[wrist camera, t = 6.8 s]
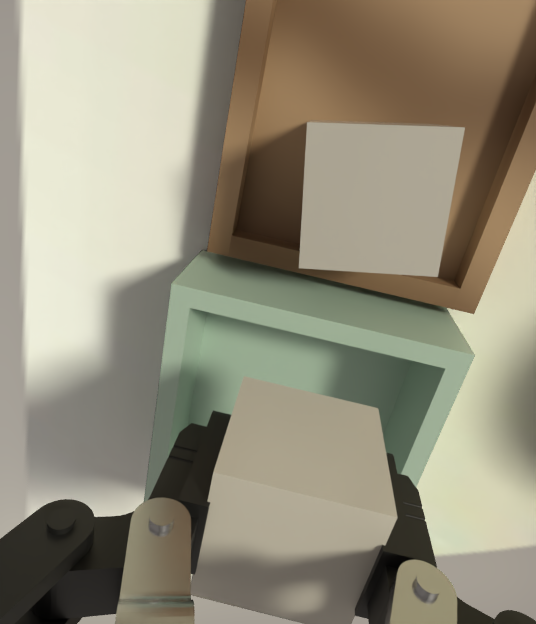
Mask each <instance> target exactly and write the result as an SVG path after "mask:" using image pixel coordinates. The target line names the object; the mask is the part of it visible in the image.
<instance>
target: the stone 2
mask: <svg viewBox="0 0 536 624" xmlns="http://www.w3.org/2000/svg"><path fill="white" fill-rule="evenodd" d="M464 131H465V127H456V126H447V125H439V124H422V123H392V122H361V121H330V120H311V121H309V122H307V132H306V150H305V167H304V185H303V202H302V220H301V238H300V255H299V268H303V269H319V270H335V271H351V272H367V273H382V274H398V275H414V276H430V277H438V273H439V268H440V262H441V257H442V251H443V246H444V240H445V235H446V229H447V224H448V218H449V213H450V207H451V202H452V196H453V191H454V185H455V180H456V174H457V169H458V163H459V158H460V152H461V147H462V141H463V136H464Z"/></svg>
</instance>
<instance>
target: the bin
mask: <svg viewBox="0 0 536 624" xmlns="http://www.w3.org/2000/svg"><path fill="white" fill-rule="evenodd" d="M474 356H475V355H474V353H473V351H472V350H471V348H470V346H469V345H468V343H467V341H466V340H465V338H464V336H463V335H462V333H461V331H460V330H459V328H458V326H457V325H456V323H455V321H454V320H453V318H452V317H451V315H450V313H449V312H448V310H447V308H446V307H442V306H438V305H433V304H429V303H425V302H421V301H416V300H412V299H408V298H404V297H399V296H395V295H391V294H387V293H382V292H378V291H374V290H369V289H365V288H361V287H357V286H352V285H348V284H344V283H340V282H335V281H331V280H327V279H322V278H318V277H314V276H310V275H305V274H301V273H297V272H293V271H288V270H284V269H280V268H276V267H271V266H267V265H263V264H258V263H254V262H250V261H246V260H241V259H237V258H233V257H229V256H224V255H220V254H216V253H212V252H207V251H203V250H202V251H201V252H200V253H199V254H198V255H197V256H196V257H195V258H194V259H193V260H192V262H191V263H190V264H189V265H188V266H187V267H186V268H185V269H184V270H183V271H182V273H181V274H180V275H179V276H178V277H177V278H176V279H175V280H174V281H173V282H172V284H171V291H170V299H169V307H168V315H167V323H166V331H165V339H164V347H163V355H162V363H161V370H160V378H159V386H158V394H157V402H156V410H155V418H154V426H153V434H152V442H151V449H150V457H149V465H148V473H147V481H146V489H145V497H144V502H145V501H147V500H148V499H149V497H150V495H151V493H152V491H153V489H154V486H155V484H156V482H157V480H158V478H159V476H160V473H161V471H162V469H163V467H164V465H165V463H166V460H167V458H168V457H169V454H170V452H171V450H172V448H173V446H174V443H175V441H176V439H177V437H178V435H179V432H181V431H182V430H183V429H184V428H186V427H187V426H188V425H190V424H191V423H194V424H198V425H202V426H206V427H207V424H208V422H209V419H210V417H211V414H212V412H213V410H214V411H218V412H222V413H226V414H231V415H232V412H233V409H234V405H235V402H236V399H237V396H238V393H239V390H240V386H241V383H242V380H243V377H244V376H246V377H250V378H254V379H258V380H262V381H266V382H271V383H275V384H279V385H283V386H287V387H292V388H296V389H300V390H304V391H308V392H312V393H317V394H321V395H325V396H329V397H333V398H338V399H342V400H346V401H350V402H354V403H358V404H363V405H367V406H371V407H375V408H378V410H379V415H380V421H381V427H382V432H383V438H384V444H385V449H386V453H390V454H393V456H394V459H395V464H396V469H397V473H398V474H402V475H406V476H408V477H409V478H410V480H411V481H412V482H413V484H414V485H415V487H416V486H417V484H418V482H419V479H420V477H421V475H422V473H423V471H424V468H425V466H426V464H427V462H428V459H429V457H430V455H431V453H432V450H433V448H434V446H435V444H436V441H437V439H438V437H439V435H440V432H441V430H442V428H443V426H444V424H445V421H446V419H447V417H448V415H449V412H450V410H451V408H452V406H453V403H454V401H455V399H456V397H457V394H458V392H459V390H460V388H461V385H462V383H463V381H464V379H465V377H466V374H467V372H468V370H469V368H470V365H471V363H472V361H473V359H474Z"/></svg>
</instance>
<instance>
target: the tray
mask: <svg viewBox="0 0 536 624" xmlns="http://www.w3.org/2000/svg"><path fill="white" fill-rule="evenodd" d="M311 120H330V121H361V122H392V123H422V124H439V125H447V126H456V127H465V131H464V136H463V141H462V147H461V152H460V158H459V163H458V169H457V174H456V180H455V185H454V191H453V196H452V202H451V207H450V213H449V218H448V224H447V229H446V235H445V240H444V246H443V251H442V257H441V262H440V268H439V273H438V277H430V276H414V275H398V274H382V273H367V272H351V271H335V270H319V269H303V268H299V255H300V238H301V220H302V202H303V185H304V167H305V150H306V132H307V122H309V121H311ZM535 170H536V0H246V4H245V10H244V16H243V23H242V29H241V36H240V42H239V49H238V55H237V61H236V68H235V74H234V81H233V87H232V94H231V100H230V106H229V113H228V119H227V126H226V132H225V139H224V145H223V151H222V158H221V164H220V171H219V177H218V184H217V190H216V196H215V203H214V209H213V216H212V222H211V229H210V235H209V241H208V248H207V252H212V253H216V254H220V255H224V256H229V257H233V258H237V259H241V260H246V261H250V262H254V263H258V264H263V265H267V266H271V267H276V268H280V269H284V270H288V271H293V272H297V273H301V274H305V275H310V276H314V277H318V278H322V279H327V280H331V281H335V282H340V283H344V284H348V285H352V286H357V287H361V288H365V289H369V290H374V291H378V292H382V293H387V294H391V295H395V296H399V297H404V298H408V299H412V300H416V301H421V302H425V303H429V304H433V305H438V306H442V307H446V308H451V309H455V310H459V311H463V312H468V313H472V314H474V313H475V310H476V308H477V306H478V303H479V301H480V299H481V296H482V294H483V292H484V289H485V287H486V285H487V282H488V280H489V278H490V275H491V273H492V271H493V268H494V266H495V264H496V261H497V259H498V257H499V254H500V252H501V250H502V247H503V245H504V243H505V240H506V238H507V236H508V233H509V231H510V228H511V226H512V224H513V221H514V219H515V217H516V214H517V212H518V210H519V207H520V205H521V203H522V200H523V198H524V196H525V193H526V191H527V189H528V186H529V184H530V182H531V179H532V177H533V175H534V172H535Z"/></svg>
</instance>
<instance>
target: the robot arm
mask: <svg viewBox="0 0 536 624" xmlns="http://www.w3.org/2000/svg"><path fill="white" fill-rule="evenodd" d="M230 418H231V414H226V413H222V412H218V411H214V410H213V412H212V414H211V417H210V419H209V422H208V424H207V427H206V426H202V425H198V424H194V423H191V424H190V425H188V426H187V427H186V428H184V429H183V430H182V431H181V432H179V435H178V437H177V439H176V441H175V443H174V446H173V448H172V450H171V452H170V454H169V457H168V458H167V460H166V463H165V465H164V467H163V469H162V471H161V473H160V476H159V478H158V480H157V482H156V484H155V486H154V489H153V491H152V493H151V495H150V497H149V499H148V500H147V501H145V502H143V503H142V504H141V505H139V506H138V507H137V508H136V510H135V511H133V512H131V513H129V514H126V515H121V516H111V517H94V514H93V512H92V510H91V509H90V508H89V507H88V506H87V505H86V504H84V503H82V502H80V501H76V500H67V499H65V500H58V501H54V502H51V503H48V504H46V505H44V506H43V507H41V508H40V509H38V510H37V511H36V512H34V513H33V514H32V515H31V516H29V517H28V518H27V519H25V520H24V521H23V522H21V523H20V524H19V525H18V526H16V527H15V528H14V529H12V530H11V531H10V532H9V533H8V534H6V535H5V536H4V537H2V538H1V539H0V624H77V623H78V622H79V621H80V620H81V618H82V617H88V616H98V615H108V614H116V621H115V624H194V602H193V600H191V574H194V575H195V573H196V569H197V564H198V560H199V555H200V550H201V545H202V540H203V535H204V530H205V526H206V521H207V516H208V511H209V506H210V502H207V501H208V496H209V491H210V486H211V481H212V476H213V472H214V469H215V465H216V462H217V459H218V456H219V453H220V450H221V446H222V443H223V440H224V437H225V434H226V431H227V427H228V424H229V421H230ZM386 455H387V461H388V466H389V472H390V478H391V483H392V489H393V495H394V500H395V506H396V512H397V520H396V522H395V524H394V527H393V529H392V531H391V534H390V536H389V538H388V540H387V543H386V545H382V547H381V549H380V551H379V554H378V556H377V558H376V561H375V563H374V565H373V568H372V570H371V572H370V575H369V577H368V579H367V582H366V584H365V586H364V589H363V591H362V593H361V596H360V598H359V600H358V602H357V605H356V607H355V616H359V617H363V618H367V619H369V624H536V621H535V620H533V619H532V618H530V617H529V616H527V615H524V614H522V613H520V612H517V611H512V610H506V611H502V612H500V613H499V614H498V615H497V617H496V618H495V619H493V618H491V617H489V616H488V615H486V614H484V613H482V612H480V611H478V610H477V609H475V608H473V607H471V606H469V605H468V604H466V603H465V602H463V601H462V600H460V599H459V598H458V597H457V596H456V592H455V589H454V587H453V585H452V584H451V582H450V581H449V579H448V578H447V577H446V576H445V575H444V574H443V573H442V572H441V571H440V570H439V569H437V566H436V562H435V557H434V553H433V549H432V545H431V541H430V537H429V533H428V529H427V525H426V522H425V516H424V512H423V509H422V504H421V500H420V496H419V492H418V490H417V488H416V487H415V485H414V484H413V482H412V481H411V480H410V478H409V477H408V476H406V475H402V474H398V473H397V469H396V464H395V459H394V456H393V454H390V453H386Z"/></svg>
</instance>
